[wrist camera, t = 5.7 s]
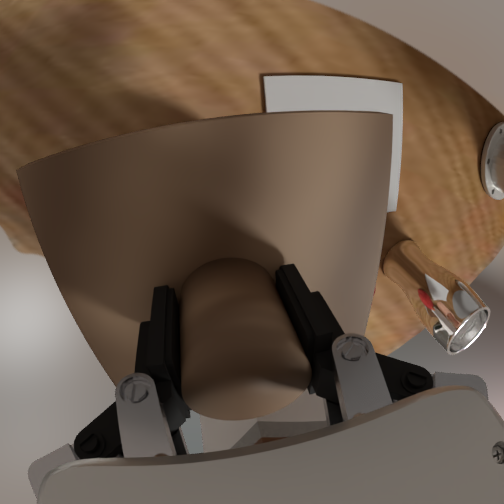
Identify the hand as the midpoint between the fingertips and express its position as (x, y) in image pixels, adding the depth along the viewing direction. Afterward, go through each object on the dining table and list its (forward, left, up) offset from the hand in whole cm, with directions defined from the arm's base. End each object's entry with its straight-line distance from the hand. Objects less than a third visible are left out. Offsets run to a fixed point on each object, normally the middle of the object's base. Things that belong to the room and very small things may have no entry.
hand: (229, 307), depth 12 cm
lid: (0, 0, -1) cm, 1 cm away
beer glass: (-23, +13, -18) cm, 32 cm away
